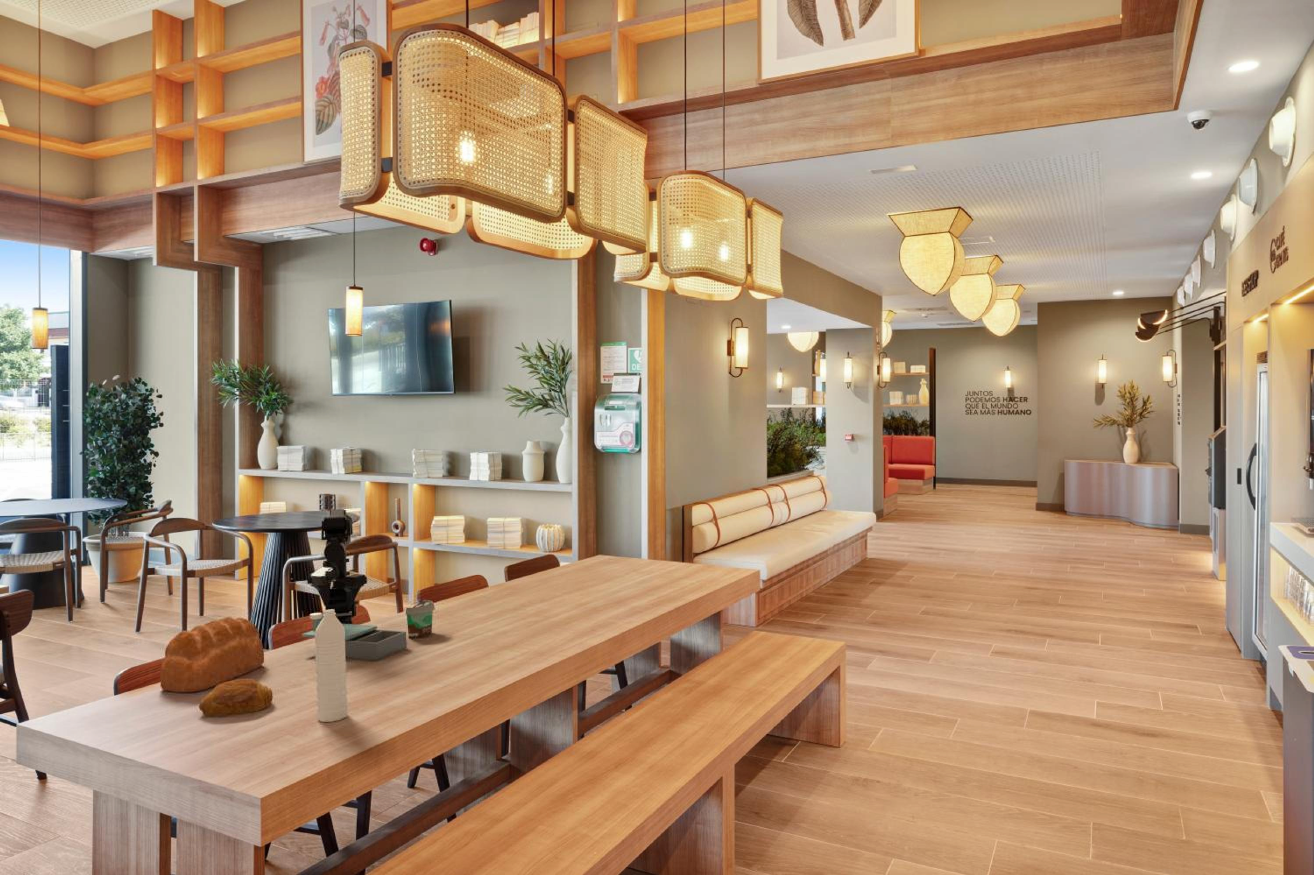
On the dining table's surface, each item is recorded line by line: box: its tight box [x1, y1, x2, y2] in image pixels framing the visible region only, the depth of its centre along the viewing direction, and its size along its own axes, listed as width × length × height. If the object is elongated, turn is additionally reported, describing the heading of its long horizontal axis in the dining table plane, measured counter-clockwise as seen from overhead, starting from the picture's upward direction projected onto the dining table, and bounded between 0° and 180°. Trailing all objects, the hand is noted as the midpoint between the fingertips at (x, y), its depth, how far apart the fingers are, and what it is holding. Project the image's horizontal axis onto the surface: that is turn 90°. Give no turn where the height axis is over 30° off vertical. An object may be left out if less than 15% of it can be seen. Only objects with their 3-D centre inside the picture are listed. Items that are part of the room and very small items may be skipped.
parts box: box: [345, 629, 408, 662], centre depth 249 cm, size 16×14×5 cm
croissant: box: [198, 678, 274, 718], centre depth 203 cm, size 14×16×8 cm
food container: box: [405, 599, 436, 640], centre depth 269 cm, size 12×6×10 cm, turn 168°
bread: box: [160, 616, 265, 693], centre depth 228 cm, size 14×26×16 cm, turn 166°
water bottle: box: [309, 609, 348, 723], centre depth 193 cm, size 9×6×25 cm
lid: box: [301, 614, 378, 640], centre depth 253 cm, size 16×14×5 cm
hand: (337, 607), depth 258 cm, fingers open, 9 cm apart
